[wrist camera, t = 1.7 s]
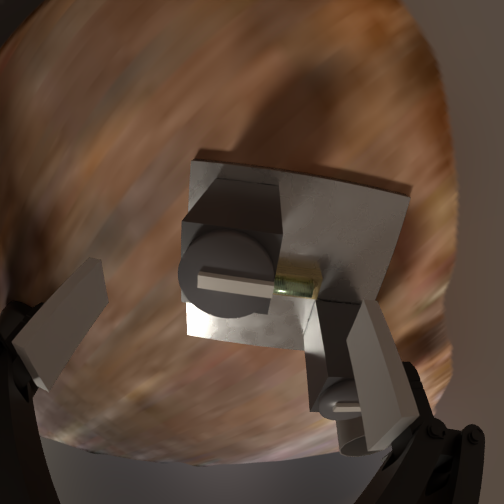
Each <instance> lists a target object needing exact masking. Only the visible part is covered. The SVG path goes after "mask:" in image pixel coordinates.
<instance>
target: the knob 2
mask: <svg viewBox="0 0 504 504" xmlns="http://www.w3.org/2000/svg"><path fill="white" fill-rule="evenodd" d="M360 307H361V305H353V304H344V303H334V302H325V301H316V300H315V303H314V306H313V310H312V313H311V316H310V319H309V322H308V325H307V328H306V332H305V335H304V348H305V359H306V370H307V382H308V394H309V408H310V412H320V414H321V415H322V416H323V417H324V418H327V419H330V420H348V419H353V418H356V417H359V416H362V414H361V408H360V403H359V398H358V393H357V387H356V383H355V378H354V373H353V368H352V363H351V359H350V354H349V350H348V346H347V341H346V340H347V337H348V335H349V333H350V331H351V328H352V326H353V324H354V321H355V319H356V317H357V314H358V312H359V309H360Z"/></svg>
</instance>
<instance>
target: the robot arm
mask: <svg viewBox="0 0 504 504" xmlns="http://www.w3.org/2000/svg"><path fill="white" fill-rule="evenodd" d="M108 303H109V302H108V297H107V292H106V286H105V281H104V275H103V269H102V262H101V259H95V258H90V257H89V258H88V259H87V260H86V261H85V262H84V263H83V264H82V265H81V266H80V267H79V268H78V269H77V270H76V271H75V272H74V273H73V274H72V275H71V276H70V277H69V278H68V279H67V280H66V281H65V282H64V283H63V284H62V285H61V286H60V287H59V288H58V289H57V290H56V292H55V293H54V294H53V295H52V296H51V297H50V298H49V299H48V300H47V301H46V302H45V303H43V302H41V303H40V304H38V305H36V306H35V307H33V308H30V307H29V306H27V305H25V304H23V303H21V302H17V301H13V302H10V303H9V304H8V305H7V306H6V307H5V308H4V309H3V310H2V312H1V315H0V504H60V501H59V499H58V496H57V493H56V491H55V488H54V485H53V482H52V479H51V476H50V473H49V470H48V466H47V463H46V459H45V456H44V452H43V448H42V444H41V440H40V436H39V431H38V427H37V422H36V416H35V411H34V405H33V396H34V395H35V393H36V391H37V390H38V388H39V387H40V388H42V389H44V390H46V391H48V392H49V391H50V390H51V388H52V386H53V385H54V383H55V381H56V380H57V378H58V376H59V375H60V373H61V372H62V370H63V368H64V367H65V365H66V364H67V362H68V361H69V359H70V358H71V356H72V354H73V353H74V351H75V350H76V348H77V347H78V345H79V344H80V342H81V341H82V339H83V338H84V336H85V335H86V334H87V332H88V331H89V329H90V328H91V326H92V325H93V323H94V322H95V321H96V319H97V318H98V316H99V315H100V314H101V312H102V311H103V309H104V308H105V307H106V305H107V304H108ZM346 341H347V346H348V350H349V354H350V359H351V363H352V368H353V373H354V378H355V383H356V387H357V393H358V398H359V403H360V408H361V414H362V420H363V425H364V431H365V438H366V444H367V451H376V450H384V449H385V448H387V447H388V446H389V445H390V444H391V445H392V451H391V452H390V453H389V454H387V455H386V456H385V457H384V458H383V459H382V460H381V461H382V462H383V461H384V460H385V461H384V463H383V464H382V466H381V467H380V469H379V470H378V472H377V473H376V475H375V476H374V477H373V479H372V480H371V482H370V483H369V484H368V486H367V487H366V488H365V490H364V491H363V493H362V494H361V495H360V497H359V498H358V499H357V500H356V502H355V503H354V504H478V502H479V496H480V489H481V482H482V474H483V464H484V449H485V437H484V433H483V431H482V430H481V429H480V428H479V427H478V426H476V425H473V424H471V425H468V426H466V427H465V428H464V429H463V430H462V431H459V430H453V429H447V428H446V426H445V424H444V423H443V422H442V421H440V420H439V419H436V418H434V416H433V414H432V411H431V408H430V405H429V402H428V399H427V396H426V393H425V391H424V389H423V385H422V382H420V377H419V375H418V372H417V370H416V369H415V367H414V366H413V365H412V364H411V363H410V362H402V361H401V359H400V356H399V353H398V351H397V348H396V345H395V343H394V340H393V338H392V335H391V333H390V330H389V328H388V325H387V323H386V320H385V318H384V316H383V313H382V311H381V308H380V306H379V304H378V301H373V300H364V299H363V302H362V304H361V307H360V309H359V312H358V314H357V317H356V319H355V321H354V324H353V326H352V328H351V331H350V333H349V335H348V337H347V340H346Z"/></svg>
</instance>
